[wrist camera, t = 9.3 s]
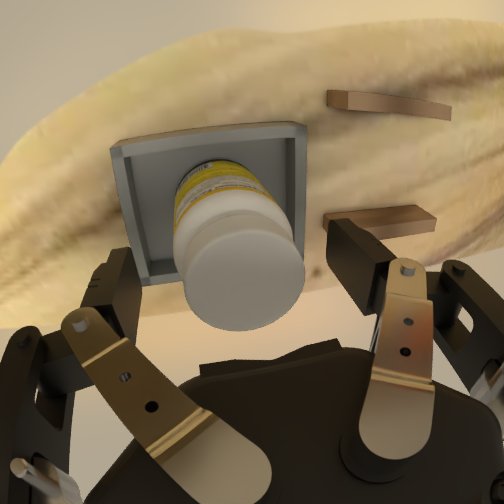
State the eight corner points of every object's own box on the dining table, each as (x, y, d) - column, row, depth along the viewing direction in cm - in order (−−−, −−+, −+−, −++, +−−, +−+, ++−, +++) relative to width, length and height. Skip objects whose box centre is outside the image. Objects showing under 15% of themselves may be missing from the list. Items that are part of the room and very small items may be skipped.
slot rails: (426, 101, 17) (451, 106, 14) (414, 216, 21) (434, 231, 19) (327, 89, 15) (348, 91, 13) (323, 228, 20) (339, 246, 18)
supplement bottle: (250, 239, 19) (294, 340, 11) (171, 232, 17) (168, 340, 10) (266, 162, 16) (334, 227, 9) (180, 151, 15) (177, 211, 8)
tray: (292, 120, 16) (306, 125, 14) (291, 244, 20) (303, 262, 18) (118, 140, 14) (109, 148, 13) (144, 266, 19) (141, 286, 17)
